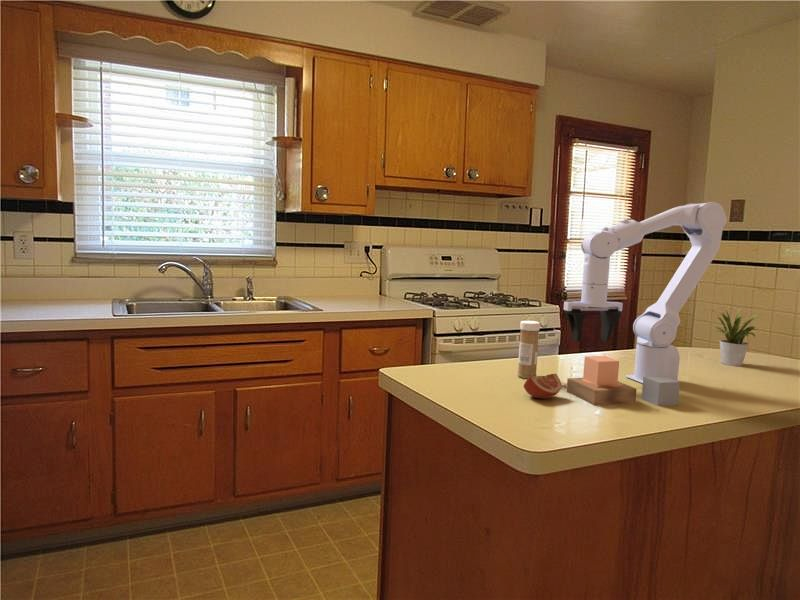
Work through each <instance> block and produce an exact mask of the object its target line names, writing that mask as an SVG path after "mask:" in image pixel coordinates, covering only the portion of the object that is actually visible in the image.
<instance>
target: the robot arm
mask: <svg viewBox="0 0 800 600" xmlns="http://www.w3.org/2000/svg"><path fill="white" fill-rule="evenodd" d="M727 223H728V218H727V215H726V213H725V209H724V207H723V205H721V204H720V203H718V202H715V201H709V202H704V203H687V204H684V205H679V206H675V207H673V208H669V209H667V210H665V211H663V212H661V213H659V214H655V215H653V216H650V217H648V218H645V219H644V220H641V221H637V220H635V219H629V218H623V219H621V220H620V223H618V224H615V225H612V226H610V227H608V226H605V227H602V228H601V232H590V233H588V234H587V235H586V236H585V237H584V238H583V240H582V243H580V248H581V251H582V253H583V254H584V260H583V272H582V284H581V285H582V286H581V296H580V298H581V299H580V300H577V301H576V300H575V301H573V300H572V301H564V302H563V310H564V315H565V317H566V319H567V321H568V324H569V326H570V330H571V335H572V336H571V337H572V341H574V342H576V343H579V342H581V338H582V330H583V323H584V320H585V317H586V314H585V313H582V312H583V311H589V312H590V311H591V312H592V311H599V314H600V322H601V323H600V324H601V327H600V340H601V341H604V342H610V341H609V340H610V337H611V336H612V332H613V330H614V327H615V325H616V324H617V322H618V321H619V319H620V318H621V317H622V311H623V304H624V303H623V302H619V301H608V289H609V288H608V287H609V276H610V275H609V274H610V263H611V262H610V261H611V260H610V259H611V257H612V256H613V255H614V253H615V252H617V251H621V250H623V249H626V248H628V247H631V246H634V245H636V244H637V245H638V244H640V243H641V242H642V241H643V238H644V237H645V235H648V234H651V233H654V232H658V231H661V230H663V229H666V228H669V227H672V226H677V227H678V226H680V228H681V229H683V232H684V233H685V234H686V235H687V237H688V238H689V241H690V243H691V248H690V249H689V251H688V252H687V254H686V255H685V257H684V259H683V260H682V262H681V263H680V265H679V266H678V268H677V269H676V271H675V273H674V274H673V276H672V277H671V279H670V280H669V282H668V284H667V285H666V287H665V289H664V290H663V291H662V293H661V294H660V296H659V298H658V300H657V301H656V302H655V303H653V304H651V305H649V306H648V307H647V308H646V309H645V311H644V312H643V313H642V314H641V315H639V316H638V317H636V319H635V320H634V322H633V324H632V331H633V333H634V335H635V336H636V346H635V358H634V359H635V361H634V370H633V371H634V372H633V374H626V375H625V377H626V378H629V379H631V380H633V381H636V382H638V383H640V384H643V377H644V376H665V377H668V378H671V379H674V380H676V381H679V379H678V378H679V369H680V368H679V367H680V357H681V356H680V352H679V349H678V348H677V346H675V345H673V344H672V343H673V342H674V341H675V339H676V338H677V337H676V336H677V332H678V327H679V325H680V324H681V317H680V311H681V310H682V309H683V307H684V305H685V304H686V303H687V301H688V299H689V297H690V296H691V294H692V293H693V291H694V289H695V288H696V286H697V285H698V283H700V282H699V281H700V280H701V279H702V277H703V275H704V274H705V272H706V271H707V269H708V268H709V267H710V265H711V263H712V262H713V260H714V258H715V256H716V255H717V254H718V252H719V250H720V248H721V244H722V236H723V230H724V227H725V226H726V225H727Z"/></svg>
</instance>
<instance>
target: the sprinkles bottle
mask: <svg viewBox="0 0 800 600" xmlns="http://www.w3.org/2000/svg"><path fill="white" fill-rule="evenodd" d="M519 324H520V326H519V329H520V334H519V335H520V336H519V337H520V338H519V347H518V360H517V362H518V365H517V366H518V368H517V377H518V378H521V379H526V380H528V379H529V378H530V377H533V376H538V375H537V367H538V366H537V365H538V353H539V351H538V350H539V345H538V344H539V333H540V330H541V329H540V328H541V323H540V322H539V321H536V320H521V321H520V323H519Z"/></svg>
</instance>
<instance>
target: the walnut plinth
mask: <svg viewBox="0 0 800 600" xmlns="http://www.w3.org/2000/svg"><path fill="white" fill-rule="evenodd" d="M566 393H568V394H570V395H572V396H575V397H577V398H579V399H580V400H582V401H585V403H588V404H591V405H593V406H607V405H621V404H622V405H623V404H624V405H625V404H636V401H637V388H636V387H633V386H631V385H629V384H626V383H624V382H621V381H619V380H618V383H617V384H613V385H595V384H593V383H591V382H588V381H586V380H584V379H583V377H569V378H568V377H567V381H566Z"/></svg>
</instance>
